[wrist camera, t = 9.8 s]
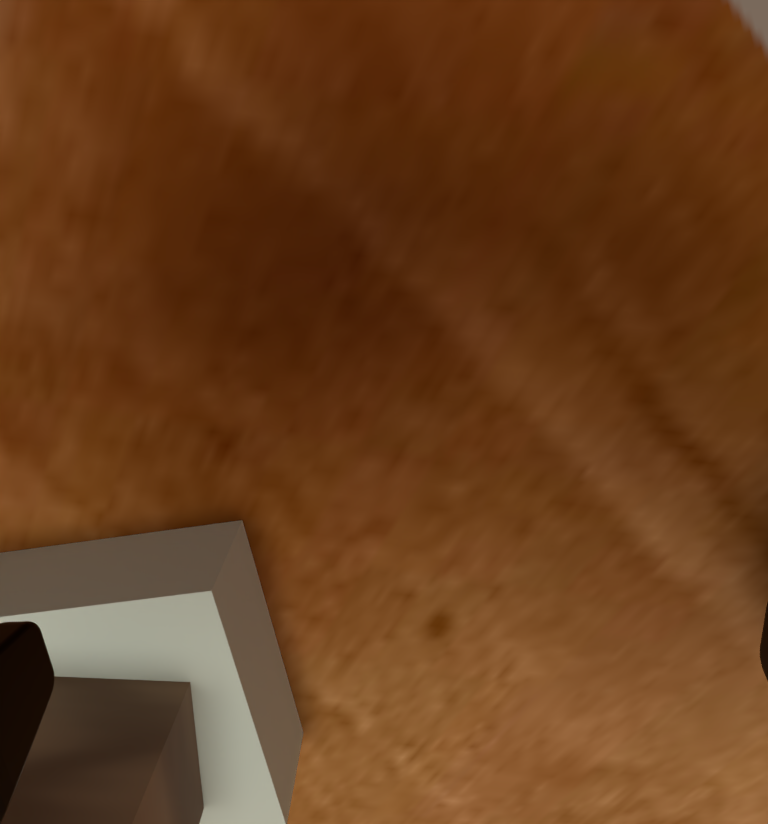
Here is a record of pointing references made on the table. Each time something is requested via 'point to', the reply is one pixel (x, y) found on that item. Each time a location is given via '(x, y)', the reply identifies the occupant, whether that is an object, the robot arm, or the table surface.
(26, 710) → the robot arm
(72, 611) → the base block
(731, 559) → the table surface
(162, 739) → the walnut cube
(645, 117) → the table surface
